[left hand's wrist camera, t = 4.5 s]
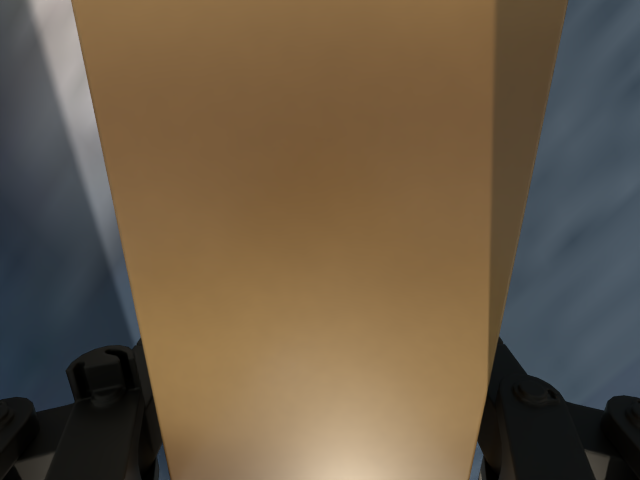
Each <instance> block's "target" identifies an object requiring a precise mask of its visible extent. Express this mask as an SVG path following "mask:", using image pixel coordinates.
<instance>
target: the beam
mask: <svg viewBox="0 0 640 480" xmlns="http://www.w3.org/2000/svg"><path fill="white" fill-rule="evenodd" d="M71 2H72V7H73V12H74V16H75V21H76V26H77V31H78V36H79V41H80V45H81V50H82V55H83V60H84V65H85V69H86V74H87V79H88V84H89V89H90V94H91V98H92V103H93V108H94V113H95V118H96V123H97V127H98V132H99V137H100V142H101V147H102V151H103V156H104V161H105V166H106V171H107V176H108V180H109V185H110V190H111V195H112V200H113V204H114V209H115V214H116V219H117V224H118V229H119V233H120V238H121V243H122V248H123V253H124V257H125V262H126V267H127V272H128V277H129V282H130V286H131V291H132V296H133V301H134V306H135V311H136V315H137V320H138V325H139V330H140V335H141V339H142V344H143V349H144V354H145V359H146V364H147V368H148V373H149V378H150V383H151V388H152V392H153V397H154V402H155V407H156V412H157V417H158V421H159V426H160V431H161V436H162V441H163V446H164V450H165V455H166V460H167V465H168V470H169V474H170V479H171V480H469V478H470V473H471V468H472V463H473V459H474V454H475V449H476V444H477V439H478V434H479V430H480V425H481V420H482V415H483V410H484V405H485V401H486V396H487V391H488V386H489V381H490V376H491V372H492V367H493V362H494V357H495V352H496V347H497V342H498V338H499V333H500V328H501V323H502V318H503V313H504V309H505V304H506V299H507V294H508V289H509V284H510V280H511V275H512V270H513V265H514V260H515V255H516V251H517V246H518V241H519V236H520V231H521V226H522V222H523V217H524V212H525V207H526V202H527V197H528V193H529V188H530V183H531V178H532V173H533V168H534V164H535V159H536V154H537V149H538V144H539V139H540V135H541V130H542V125H543V120H544V115H545V110H546V106H547V101H548V96H549V91H550V86H551V81H552V77H553V72H554V67H555V62H556V57H557V52H558V48H559V43H560V38H561V33H562V28H563V23H564V19H565V14H566V9H567V4H568V0H71Z"/></svg>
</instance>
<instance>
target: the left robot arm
mask: <svg viewBox="0 0 640 480" xmlns="http://www.w3.org/2000/svg"><path fill="white" fill-rule="evenodd" d="M66 374H67V377H68V380H69V383H70V387H71V390H72V393H73V396H74V400H75V402H74V403H72V404H69V405H65V406H61V407H57V408H52V409H48V410H44V411H39V412H36V411H35V408H34V405H33V403H32V402H31V401H30V400H28V399H27V398H21V397H13V398H7V399H2V400H0V480H158V478H159V465H158V460H157V454H158V451H159V449H160V447H161V445H162V443H163V441H162V436H161V431H160V426H159V421H158V417H157V412H156V407H155V402H154V397H153V392H152V388H151V383H150V378H149V373H148V368H147V364H146V359H145V354H144V349H143V344H142V339H141V338H140V340H139V341H138V342H137V346H134V348H133V349H132V350H131V349H130V348H129V347H126V346H121V345H113V346H105V347H101V348H97V349H94V350H92V351H90V352H87V353H85V354H83V355H81V356H80V357H79V358H77V359H76V360H75V361H73V362H72V363H71V364H70V366H69V367H68V368H67V369H66ZM477 441H478V443H479V446H480V448H481V450H482V452H483V454H484V455H483V460H482V464H481V469H480V473H479V478H478V480H640V398H637V397H631V396H625V395H623V396H614V397H612V398H611V399H610V400H608V402H607V404H606V407H605V410H604V411H603V410H599V409H594V408H590V407H586V406H581V405H577V404H573V403H569V402H566V401H565V400H564V398H563V397H562V395H561V394H560V392H559V391H557V390H556V389H555V388H554V387H553V386H551V385H550V384H549V383H547V382H545V381H543V380H541V379H539V378H537V377H533V376H530V375H527V373H526V372H525V371H524V369H523V368H522V367H521V365H520V364H519V363H518V361H517V360H516V359H515V357H514V356H513V355H512V353H511V352H510V350H509V349H508V348H507V346H506V345H505V344H503V341H502V340H501V338H500V337H499V338H498V342H497V347H496V352H495V357H494V362H493V367H492V372H491V376H490V381H489V386H488V391H487V396H486V401H485V405H484V410H483V415H482V420H481V425H480V430H479V434H478V439H477Z"/></svg>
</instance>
